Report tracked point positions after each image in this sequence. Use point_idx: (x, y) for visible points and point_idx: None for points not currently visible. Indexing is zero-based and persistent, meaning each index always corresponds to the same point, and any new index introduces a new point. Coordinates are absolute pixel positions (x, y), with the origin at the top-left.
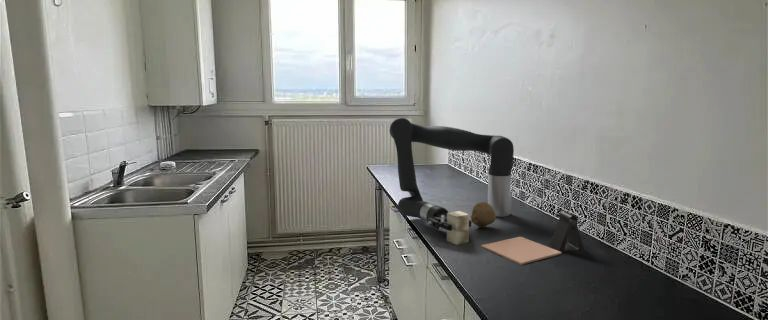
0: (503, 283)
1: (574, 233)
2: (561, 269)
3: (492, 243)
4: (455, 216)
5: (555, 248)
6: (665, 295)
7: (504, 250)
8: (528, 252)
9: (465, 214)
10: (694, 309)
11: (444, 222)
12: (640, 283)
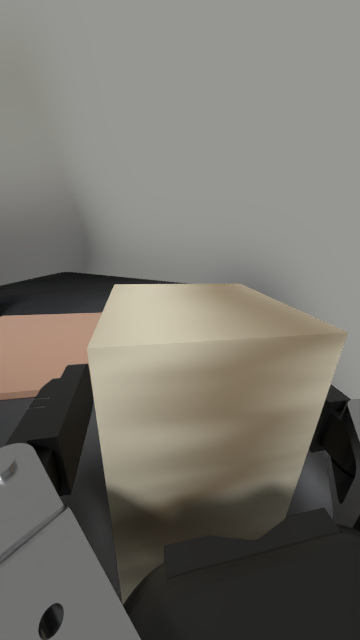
0: None
1: None
2: (89, 302)
3: None
4: (245, 287)
5: None
6: (73, 278)
7: None
8: (62, 326)
9: (143, 287)
10: (84, 274)
11: (338, 393)
12: (59, 284)
